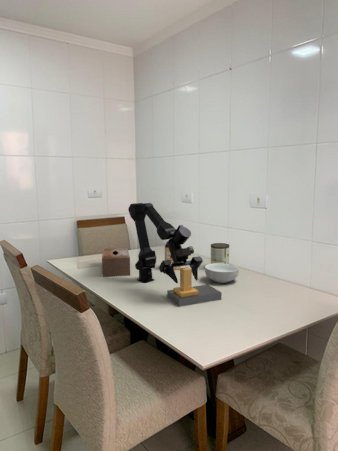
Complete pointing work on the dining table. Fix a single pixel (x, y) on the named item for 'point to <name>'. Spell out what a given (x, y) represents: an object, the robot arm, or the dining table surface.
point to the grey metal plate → (196, 296)
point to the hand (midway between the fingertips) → (187, 281)
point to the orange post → (185, 284)
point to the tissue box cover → (115, 262)
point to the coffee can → (220, 253)
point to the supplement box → (167, 257)
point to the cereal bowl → (221, 272)
